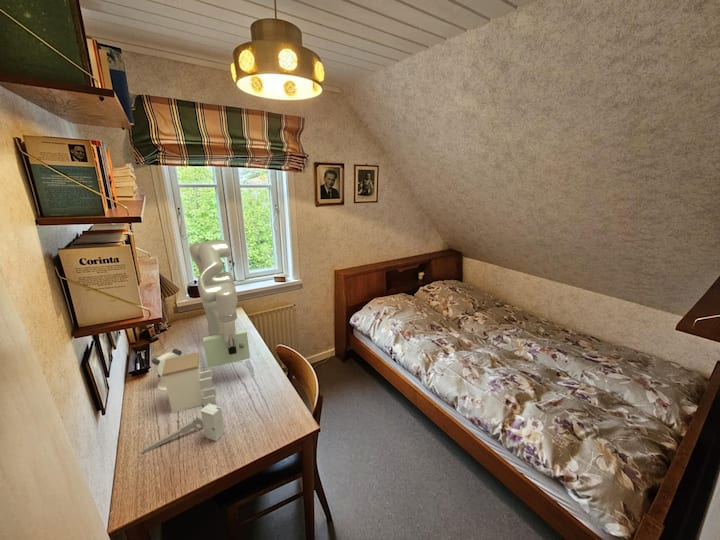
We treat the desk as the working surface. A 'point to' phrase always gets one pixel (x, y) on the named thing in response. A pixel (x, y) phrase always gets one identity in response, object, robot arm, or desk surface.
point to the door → (225, 349)
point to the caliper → (176, 433)
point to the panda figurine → (160, 365)
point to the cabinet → (187, 383)
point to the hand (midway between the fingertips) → (232, 351)
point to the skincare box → (212, 422)
